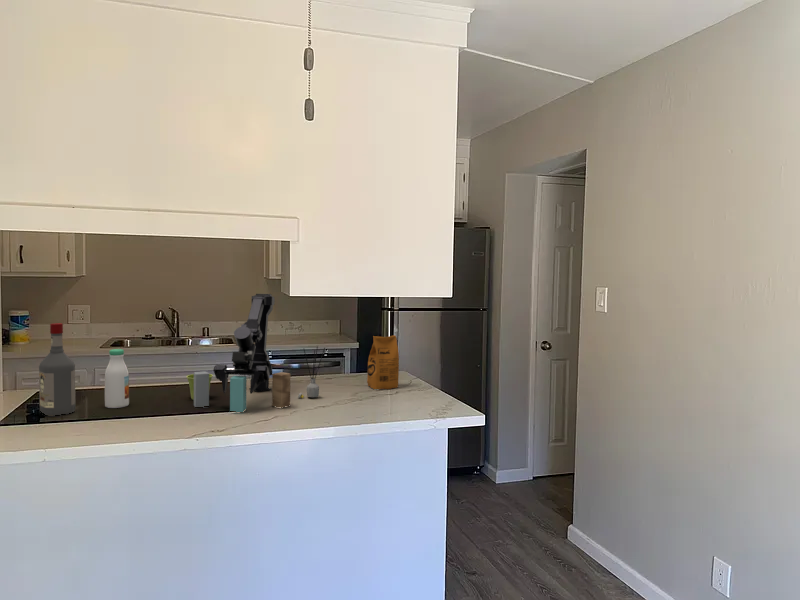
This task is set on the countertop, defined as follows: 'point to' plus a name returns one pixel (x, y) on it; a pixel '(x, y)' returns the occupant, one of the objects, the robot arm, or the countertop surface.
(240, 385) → the teal block
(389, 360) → the coffee package
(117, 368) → the milk bottle
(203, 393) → the slate block
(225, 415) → the countertop surface
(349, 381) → the countertop surface
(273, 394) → the walnut block
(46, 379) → the liquor
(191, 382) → the plant pot
